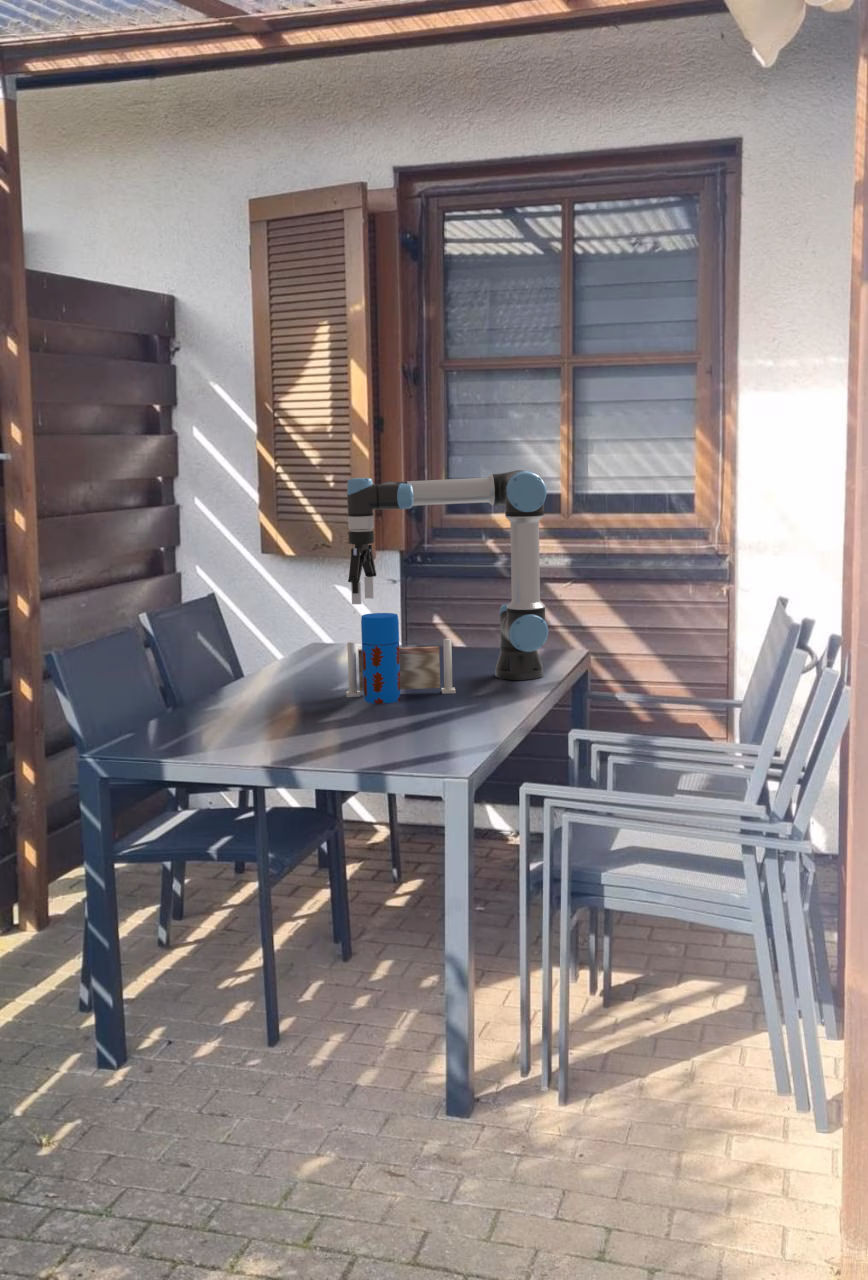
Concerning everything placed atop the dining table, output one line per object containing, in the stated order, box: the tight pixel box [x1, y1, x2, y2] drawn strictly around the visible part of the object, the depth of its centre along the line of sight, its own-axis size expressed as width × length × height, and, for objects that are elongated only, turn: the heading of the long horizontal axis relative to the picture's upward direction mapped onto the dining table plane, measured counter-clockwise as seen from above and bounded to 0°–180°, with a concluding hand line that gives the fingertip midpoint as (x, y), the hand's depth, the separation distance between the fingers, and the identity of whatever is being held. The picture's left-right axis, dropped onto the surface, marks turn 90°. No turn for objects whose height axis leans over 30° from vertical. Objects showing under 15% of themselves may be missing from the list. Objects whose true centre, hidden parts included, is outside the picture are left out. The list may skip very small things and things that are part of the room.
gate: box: [357, 645, 441, 692], centre depth 411 cm, size 24×2×12 cm, turn 93°
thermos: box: [360, 612, 401, 705], centre depth 402 cm, size 11×11×25 cm
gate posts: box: [345, 638, 457, 698], centre depth 411 cm, size 32×4×16 cm, turn 93°
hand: (363, 601), depth 413 cm, fingers open, 13 cm apart
